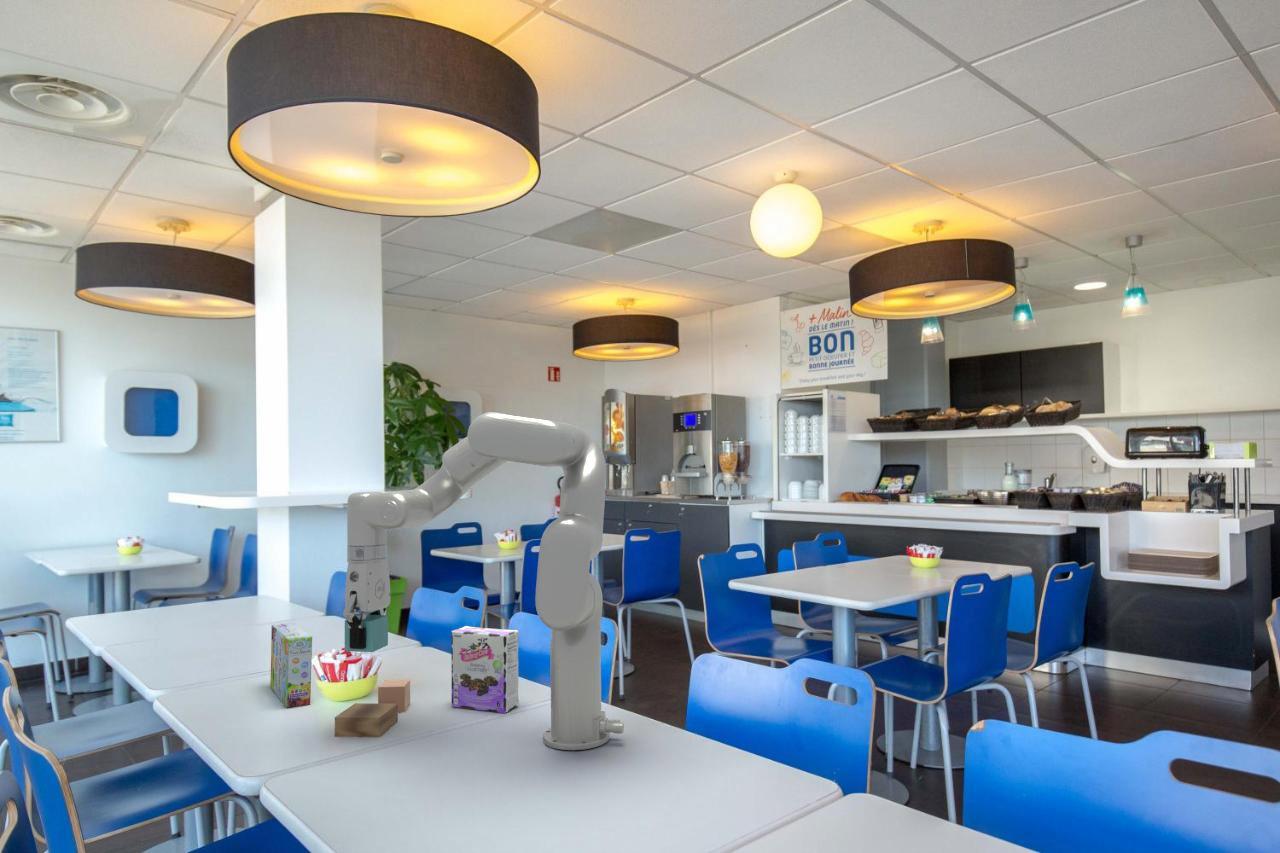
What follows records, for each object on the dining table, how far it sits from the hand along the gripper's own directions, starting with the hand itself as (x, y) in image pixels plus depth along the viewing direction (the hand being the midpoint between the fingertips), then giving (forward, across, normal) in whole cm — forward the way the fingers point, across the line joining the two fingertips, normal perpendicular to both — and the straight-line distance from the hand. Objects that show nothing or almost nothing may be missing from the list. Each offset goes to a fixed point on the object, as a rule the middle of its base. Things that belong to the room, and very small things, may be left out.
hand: (366, 643), depth 158 cm
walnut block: (+17, 0, 0) cm, 17 cm away
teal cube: (+1, 0, 0) cm, 1 cm away
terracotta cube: (+17, +13, +1) cm, 21 cm away
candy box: (+17, +17, -18) cm, 30 cm away
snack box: (+17, +19, +30) cm, 39 cm away
